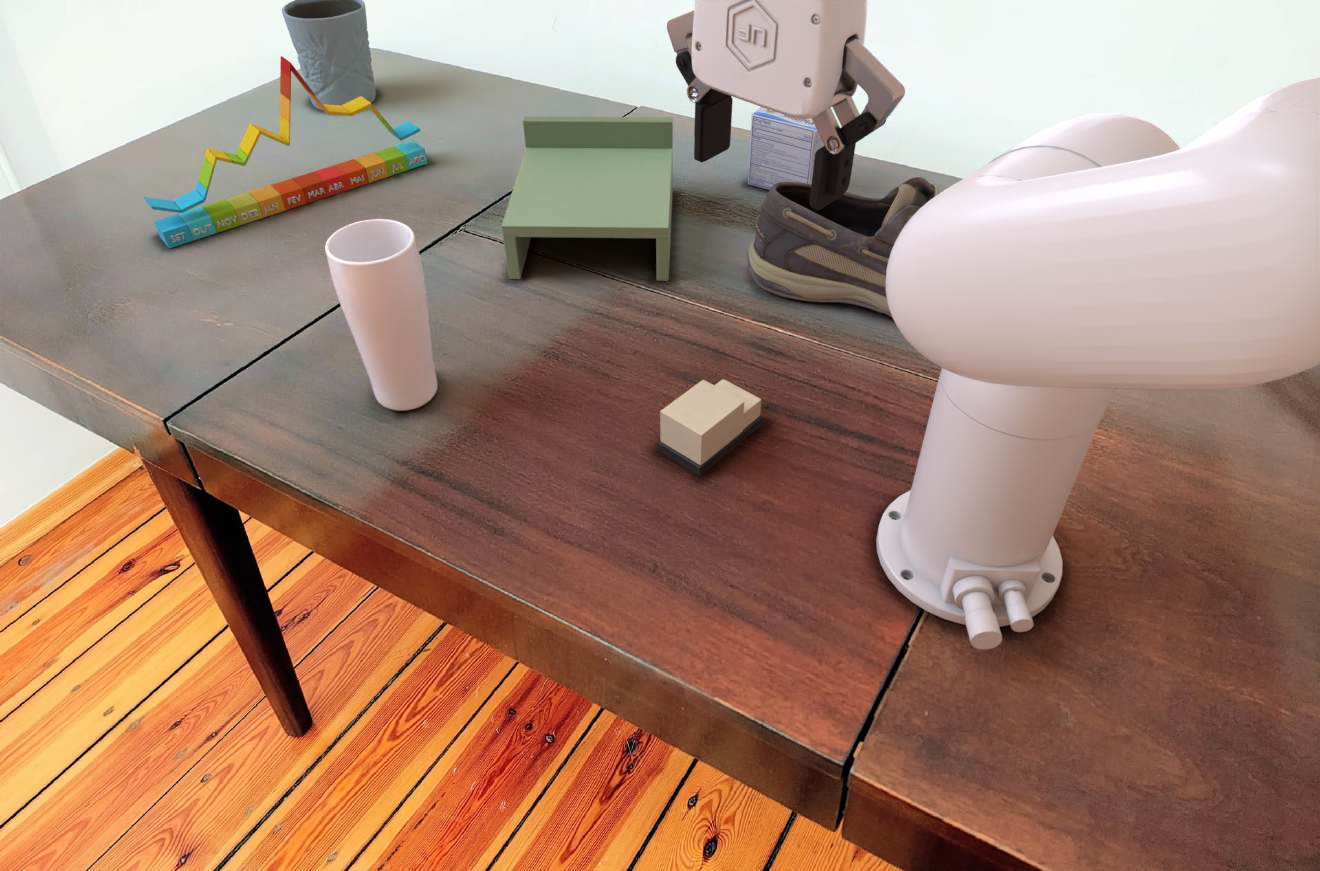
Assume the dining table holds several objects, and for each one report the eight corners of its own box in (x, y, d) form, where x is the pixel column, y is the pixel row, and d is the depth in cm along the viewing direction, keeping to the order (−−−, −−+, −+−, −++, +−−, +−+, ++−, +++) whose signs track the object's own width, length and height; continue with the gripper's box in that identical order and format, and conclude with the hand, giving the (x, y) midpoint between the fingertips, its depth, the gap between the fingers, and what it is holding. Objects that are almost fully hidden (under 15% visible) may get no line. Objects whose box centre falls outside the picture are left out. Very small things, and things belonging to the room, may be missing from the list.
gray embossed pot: (293, 111, 123) (267, 16, 115) (326, 81, 131) (303, -10, 123) (366, 116, 122) (344, 21, 114) (394, 85, 129) (376, -6, 121)
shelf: (668, 281, 93) (668, 199, 87) (508, 279, 93) (497, 197, 87) (672, 193, 106) (672, 117, 100) (532, 192, 106) (524, 116, 100)
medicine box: (825, 187, 107) (834, 113, 101) (808, 203, 104) (816, 129, 98) (764, 170, 110) (769, 98, 104) (746, 185, 107) (750, 112, 101)
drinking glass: (409, 430, 77) (369, 274, 66) (350, 402, 79) (303, 248, 69) (463, 385, 81) (434, 232, 71) (405, 360, 83) (369, 209, 73)
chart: (169, 249, 98) (112, 110, 88) (160, 237, 100) (102, 99, 89) (428, 164, 112) (404, 36, 102) (415, 155, 114) (390, 28, 103)
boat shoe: (1057, 345, 84) (1093, 241, 77) (737, 310, 89) (742, 208, 82) (1045, 280, 92) (1077, 180, 85) (751, 251, 97) (758, 153, 90)
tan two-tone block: (699, 477, 72) (700, 437, 69) (657, 451, 74) (657, 411, 72) (762, 425, 77) (765, 386, 74) (720, 402, 79) (722, 363, 76)
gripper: (630, -124, 53) (635, 156, 65) (891, -66, 45) (843, 245, 56) (714, -145, 57) (705, 122, 69) (968, -96, 49) (908, 199, 60)
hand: (767, 177), depth 63 cm, fingers open, 9 cm apart
